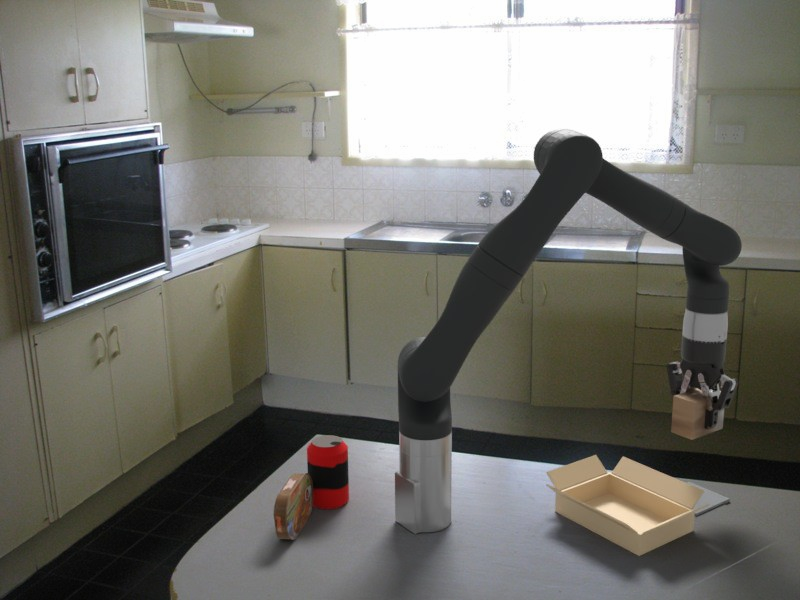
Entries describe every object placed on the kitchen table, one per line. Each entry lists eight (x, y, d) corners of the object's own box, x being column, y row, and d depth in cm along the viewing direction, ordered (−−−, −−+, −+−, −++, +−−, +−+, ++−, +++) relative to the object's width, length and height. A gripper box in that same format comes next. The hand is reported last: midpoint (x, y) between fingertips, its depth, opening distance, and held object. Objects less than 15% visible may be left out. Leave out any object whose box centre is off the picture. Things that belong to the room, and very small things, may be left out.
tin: (289, 549, 146) (287, 503, 144) (272, 547, 147) (269, 501, 145) (315, 508, 161) (314, 465, 159) (299, 506, 161) (297, 464, 159)
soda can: (333, 513, 158) (331, 452, 155) (300, 503, 162) (298, 444, 159) (356, 497, 164) (355, 438, 162) (324, 488, 168) (322, 430, 165)
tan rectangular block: (691, 439, 155) (694, 402, 153) (671, 432, 158) (673, 395, 156) (722, 428, 160) (725, 392, 158) (701, 421, 163) (704, 385, 161)
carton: (641, 571, 138) (644, 533, 137) (530, 510, 159) (531, 476, 157) (720, 533, 150) (723, 498, 148) (606, 481, 170) (608, 449, 169)
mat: (695, 516, 156) (696, 513, 156) (655, 498, 163) (655, 495, 163) (729, 501, 161) (729, 498, 161) (688, 484, 168) (688, 481, 168)
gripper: (658, 328, 158) (652, 417, 162) (726, 347, 147) (718, 441, 151) (684, 322, 162) (678, 408, 166) (753, 339, 151) (744, 431, 155)
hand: (697, 423), depth 158 cm, fingers closed on tan rectangular block, 4 cm apart
